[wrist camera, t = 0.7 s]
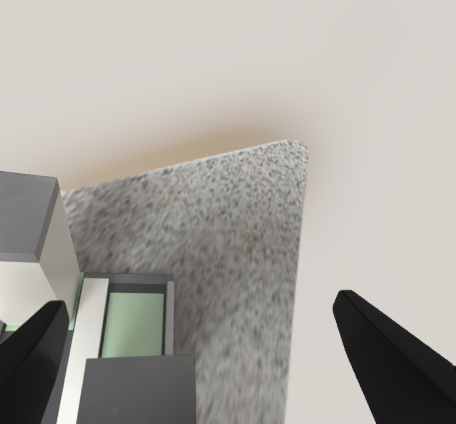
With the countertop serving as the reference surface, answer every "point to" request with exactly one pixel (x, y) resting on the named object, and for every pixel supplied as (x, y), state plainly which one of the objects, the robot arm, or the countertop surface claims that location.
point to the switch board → (109, 330)
